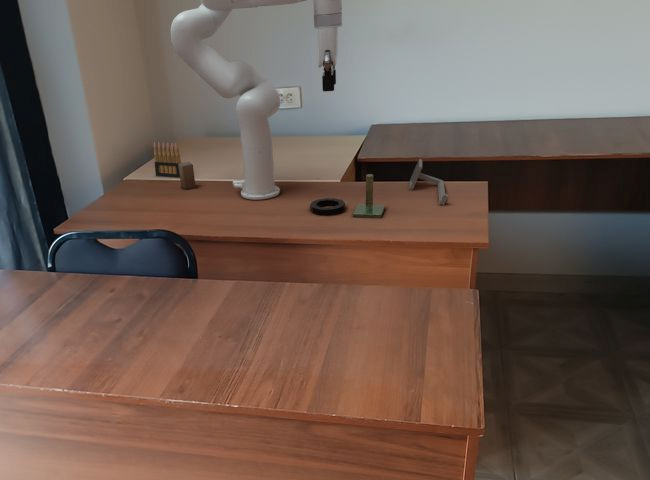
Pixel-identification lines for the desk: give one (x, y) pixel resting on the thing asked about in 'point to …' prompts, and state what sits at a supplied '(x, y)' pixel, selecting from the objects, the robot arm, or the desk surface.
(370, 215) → the post
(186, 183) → the wooden block
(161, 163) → the ammunition clip
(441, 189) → the toilet paper hanger
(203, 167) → the desk surface
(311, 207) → the black ring
